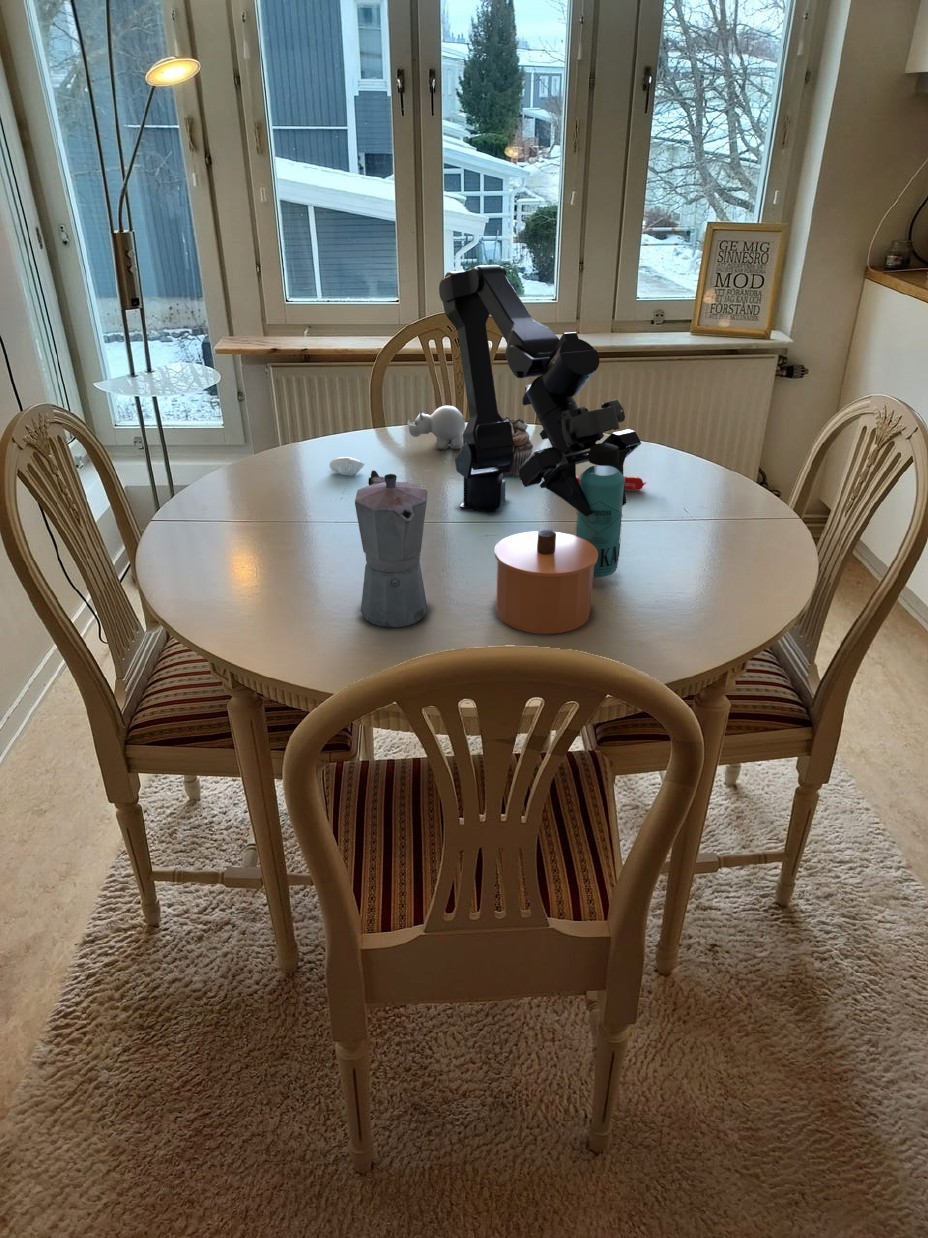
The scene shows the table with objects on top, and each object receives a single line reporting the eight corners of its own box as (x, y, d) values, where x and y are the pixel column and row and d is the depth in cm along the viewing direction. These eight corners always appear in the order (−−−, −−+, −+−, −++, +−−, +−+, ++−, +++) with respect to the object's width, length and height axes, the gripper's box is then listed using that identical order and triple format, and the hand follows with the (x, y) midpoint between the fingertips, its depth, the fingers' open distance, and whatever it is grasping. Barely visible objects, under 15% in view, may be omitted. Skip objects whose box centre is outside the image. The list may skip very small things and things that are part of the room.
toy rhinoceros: (409, 440, 186) (408, 401, 182) (464, 441, 186) (464, 401, 182) (406, 451, 179) (405, 410, 175) (464, 451, 179) (464, 410, 175)
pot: (483, 623, 114) (484, 565, 110) (513, 584, 125) (515, 530, 120) (575, 641, 110) (580, 581, 106) (598, 599, 121) (603, 543, 117)
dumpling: (330, 481, 164) (325, 460, 163) (333, 477, 169) (329, 457, 168) (366, 474, 164) (361, 453, 162) (368, 470, 169) (364, 450, 167)
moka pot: (381, 645, 109) (374, 496, 100) (339, 595, 121) (329, 458, 112) (448, 628, 113) (448, 483, 103) (401, 582, 125) (396, 448, 115)
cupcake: (474, 472, 168) (474, 421, 163) (498, 459, 175) (500, 410, 170) (517, 481, 163) (519, 429, 159) (540, 467, 171) (543, 417, 166)
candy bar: (642, 487, 161) (644, 472, 159) (647, 494, 158) (648, 478, 156) (557, 487, 160) (558, 472, 159) (559, 494, 157) (560, 479, 156)
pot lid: (479, 571, 110) (480, 545, 108) (512, 532, 121) (513, 508, 120) (583, 588, 106) (585, 561, 104) (607, 546, 117) (609, 522, 115)
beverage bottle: (569, 568, 129) (574, 439, 119) (612, 565, 130) (621, 437, 120) (578, 588, 124) (584, 454, 114) (623, 585, 124) (634, 452, 114)
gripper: (534, 391, 111) (586, 497, 109) (638, 372, 121) (688, 468, 118) (497, 436, 121) (544, 534, 118) (596, 415, 130) (641, 505, 127)
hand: (606, 509), depth 120 cm, fingers closed on beverage bottle, 6 cm apart
